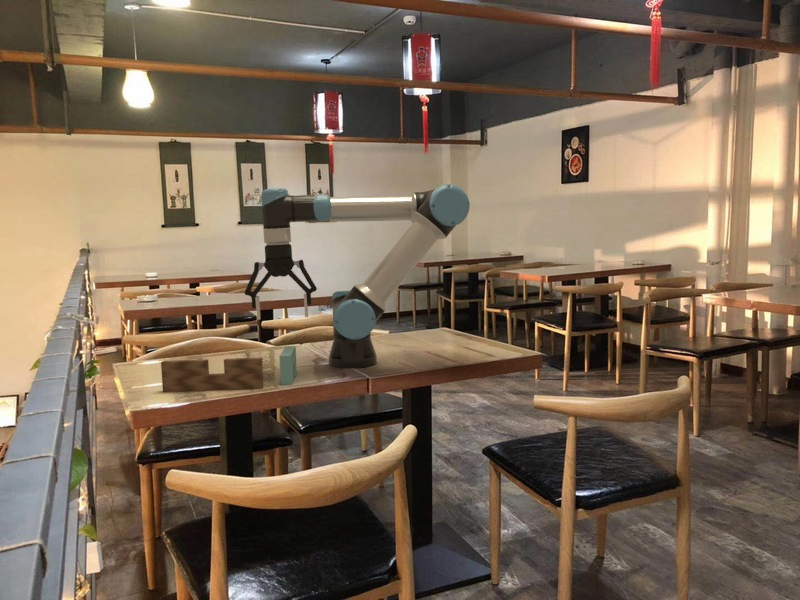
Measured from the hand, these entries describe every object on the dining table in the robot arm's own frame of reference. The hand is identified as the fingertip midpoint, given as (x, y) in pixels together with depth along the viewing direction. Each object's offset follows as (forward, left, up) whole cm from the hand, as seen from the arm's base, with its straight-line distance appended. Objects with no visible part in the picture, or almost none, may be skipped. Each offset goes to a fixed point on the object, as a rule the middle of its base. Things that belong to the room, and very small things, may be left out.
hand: (282, 318), depth 179 cm
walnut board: (+17, +14, -17) cm, 28 cm away
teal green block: (-2, +5, -17) cm, 18 cm away
